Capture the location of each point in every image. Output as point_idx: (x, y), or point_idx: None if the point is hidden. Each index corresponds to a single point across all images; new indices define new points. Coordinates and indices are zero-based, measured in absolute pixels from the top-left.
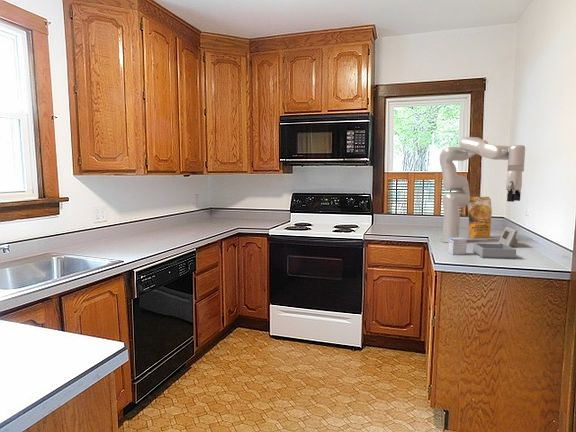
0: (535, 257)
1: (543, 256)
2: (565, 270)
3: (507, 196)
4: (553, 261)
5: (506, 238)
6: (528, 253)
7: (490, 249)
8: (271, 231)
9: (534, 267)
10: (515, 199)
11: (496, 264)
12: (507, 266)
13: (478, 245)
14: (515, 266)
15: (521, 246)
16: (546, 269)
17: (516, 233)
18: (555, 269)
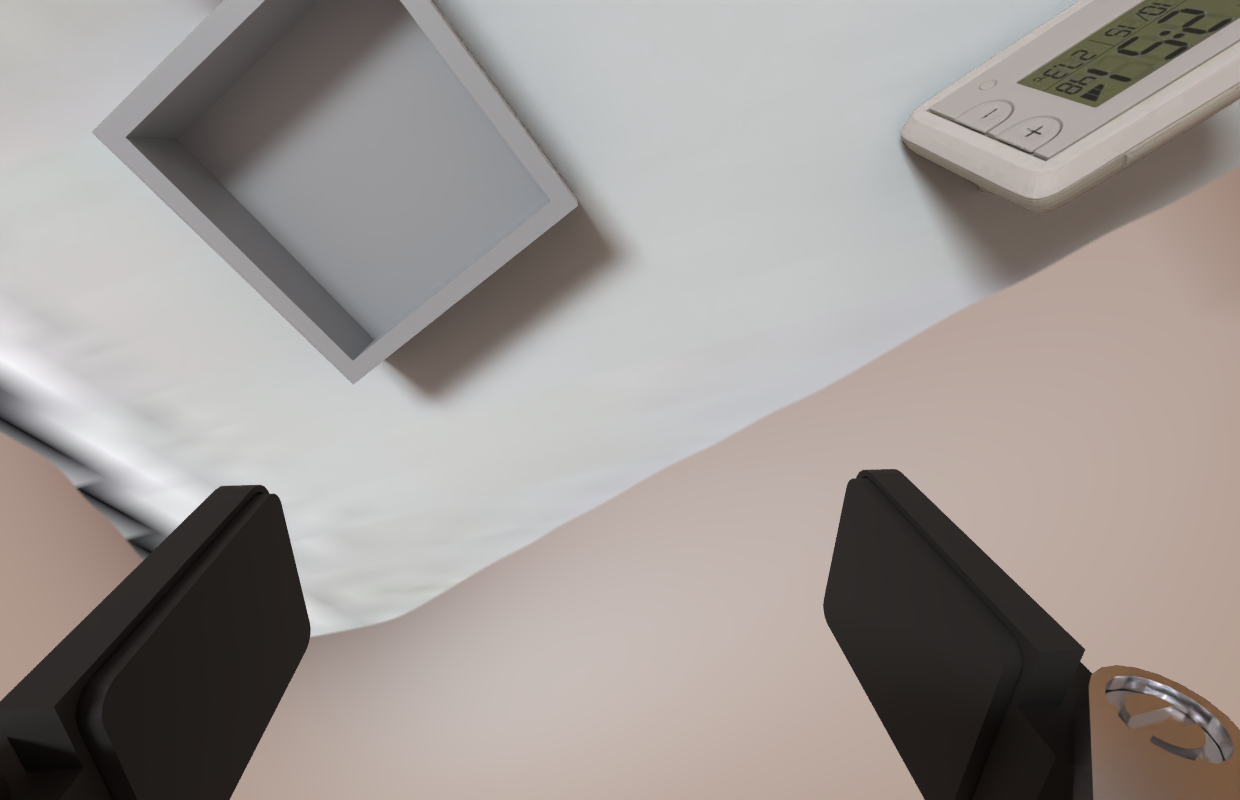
0: (575, 429)
1: (658, 455)
2: None
3: (107, 605)
4: (521, 537)
5: (1036, 81)
6: (707, 351)
7: (166, 200)
8: None
9: None
10: (856, 540)
11: (36, 317)
12: (56, 395)
13: (235, 13)
14: (116, 431)
15: (1031, 211)
16: None
17: (1021, 206)
18: None
